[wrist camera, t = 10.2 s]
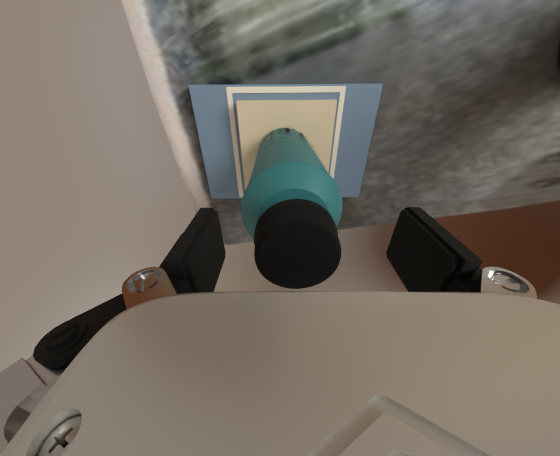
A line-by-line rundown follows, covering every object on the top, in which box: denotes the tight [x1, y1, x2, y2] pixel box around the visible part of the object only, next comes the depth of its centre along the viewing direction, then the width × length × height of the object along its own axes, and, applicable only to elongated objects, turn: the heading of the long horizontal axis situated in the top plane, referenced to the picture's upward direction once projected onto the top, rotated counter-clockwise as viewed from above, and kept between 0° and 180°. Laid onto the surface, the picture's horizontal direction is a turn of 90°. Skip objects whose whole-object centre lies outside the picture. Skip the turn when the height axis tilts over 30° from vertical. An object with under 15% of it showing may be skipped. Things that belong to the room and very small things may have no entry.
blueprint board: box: [188, 84, 383, 199], centre depth 27 cm, size 22×14×4 cm, turn 90°
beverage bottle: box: [241, 127, 342, 289], centre depth 17 cm, size 6×7×20 cm
